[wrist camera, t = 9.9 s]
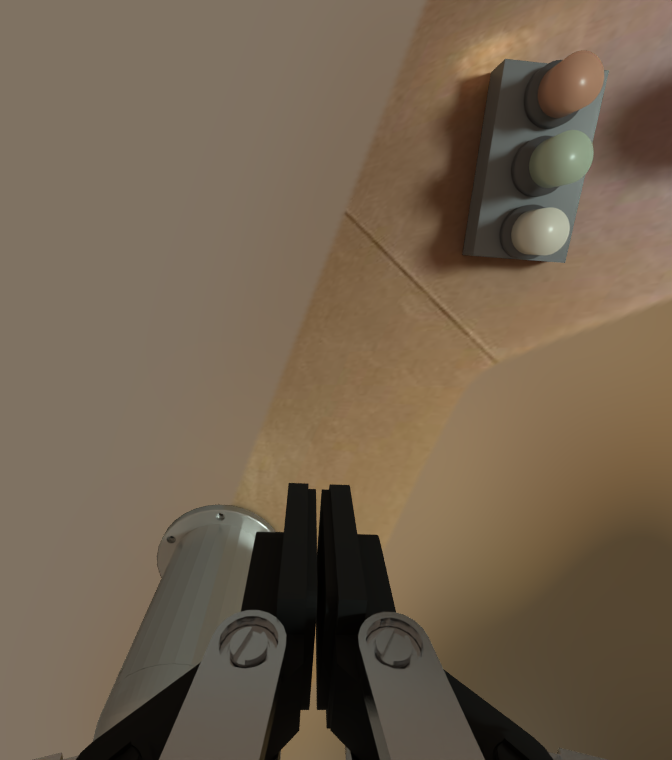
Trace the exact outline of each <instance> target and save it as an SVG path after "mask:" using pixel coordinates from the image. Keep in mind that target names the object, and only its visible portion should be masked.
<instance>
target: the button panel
mask: <svg viewBox="0 0 672 760" xmlns="http://www.w3.org/2000/svg"><path fill="white" fill-rule="evenodd" d="M561 61H562V60H556V61H553V62H551V63H548V64H547V63H538V62H529V61H520V60H511V59H505V60H504V61H503V62H502V63H500V64H499V65H498V66H497V67H496V68H495V69H494V70H493V71H492V72H491V76H490V82H489V89H488V95H487V101H486V108H485V114H484V120H483V127H482V133H481V140H480V146H479V152H478V159H477V165H476V171H475V178H474V184H473V191H472V197H471V203H470V210H469V216H468V223H467V229H466V235H465V242H464V248H463V254H462V255H470V256H483V257H496V258H509V259H522V260H535V261H548V262H561V263H565V261H566V256H567V252H568V248H569V243H570V239H571V234H572V230H573V226H574V221H575V217H576V213H577V208H578V204H579V199H580V195H581V191H582V186H583V182H584V178H585V175H584V176H583V177H582V178H581V179H579V180H578V181H576V182H574V183H571V184H566V185H562V186H558V187H553V188H543V187H541V186H539V185H537V184H536V183H535V182H534V181H533V179H532V177H531V175H530V171H529V163H530V158H531V155H532V153H533V151H534V150H535V148H536V147H537V146H538V145H539V144H540V143H542V142H543V141H545V140H547V139H549V138H551V137H554V136H556V135H558V134H561V133H563V132H565V131H568V130H578V131H581V132H583V133H585V134H586V135H587V136H588V137H589V139H590V140H591V142H593V138H594V134H595V129H596V125H597V121H598V116H599V112H600V107H601V103H602V99H603V94H604V90H605V86H606V81H607V77H608V72H609V70H604V82H603V86H602V89H601V91H600V93H599V94H598V96H597V97H596V99H595V100H594V101H593V102H592V103H590V104H589V105H587V106H586V107H584V108H582V109H580V110H578V111H575V112H573V113H571V114H569V115H567V116H565V117H562V118H552V117H549V116H548V115H546V114H545V113H544V112H543V111H542V109H541V107H540V105H539V102H538V89H539V85H540V82H541V80H542V78H543V77H544V75H545V74H546V73H547V72H548V71H549V70H550V69H551V68H553V67H554V66H556V65H557V64H558V63H560V62H561ZM549 207H552V208H557V209H559V210H561V211H562V212H564V213H565V215H566V216H567V218H568V220H569V225H570V231H569V236H568V238H567V240H566V242H565V244H564V245H563V246H562V247H561V248H560V249H559V250H558V251H557V252H555V253H553V254H550V255H528V254H523V253H521V252H519V251H518V250H517V249H516V248H515V247H514V245H513V243H512V238H511V232H512V228H513V225H514V223H515V221H516V220H517V219H518V217H519V216H521V215H522V214H523V213H525V212H527V211H530V210H536V209H542V208H549Z"/></svg>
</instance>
